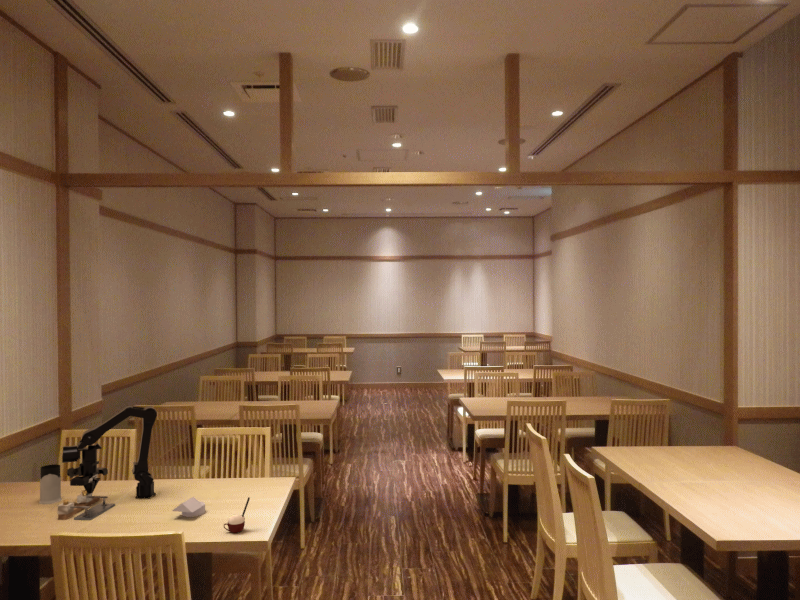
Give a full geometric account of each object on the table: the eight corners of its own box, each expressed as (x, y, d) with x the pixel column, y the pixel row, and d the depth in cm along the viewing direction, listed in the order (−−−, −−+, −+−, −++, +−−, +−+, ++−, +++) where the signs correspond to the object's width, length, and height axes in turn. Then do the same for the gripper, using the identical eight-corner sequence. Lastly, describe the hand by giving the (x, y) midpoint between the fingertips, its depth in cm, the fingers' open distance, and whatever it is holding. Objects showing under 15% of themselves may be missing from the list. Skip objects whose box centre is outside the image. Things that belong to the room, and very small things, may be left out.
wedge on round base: (192, 521, 240) (209, 510, 253) (192, 503, 240) (209, 493, 253) (171, 519, 242) (189, 508, 255) (171, 502, 242) (189, 492, 255)
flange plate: (115, 505, 260) (115, 503, 260) (90, 520, 242) (90, 517, 242) (99, 505, 260) (99, 502, 260) (74, 519, 242) (74, 517, 242)
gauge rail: (118, 500, 266) (117, 484, 266) (85, 520, 242) (85, 502, 242) (91, 500, 267) (91, 484, 267) (57, 519, 243) (57, 502, 243)
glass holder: (37, 505, 260) (37, 470, 260) (41, 496, 273) (41, 462, 273) (61, 502, 264) (61, 467, 264) (63, 493, 277) (63, 460, 277)
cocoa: (222, 535, 226) (220, 503, 225) (228, 528, 232) (226, 497, 232) (247, 534, 225) (246, 502, 225) (252, 527, 232) (250, 496, 231)
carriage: (109, 502, 259) (109, 489, 259) (104, 506, 255) (104, 492, 255) (83, 502, 260) (83, 488, 260) (77, 505, 256) (77, 492, 256)
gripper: (84, 454, 271) (84, 489, 271) (57, 465, 253) (57, 503, 253) (108, 454, 271) (108, 490, 270) (83, 465, 252) (83, 503, 252)
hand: (89, 496), depth 261 cm, fingers closed
